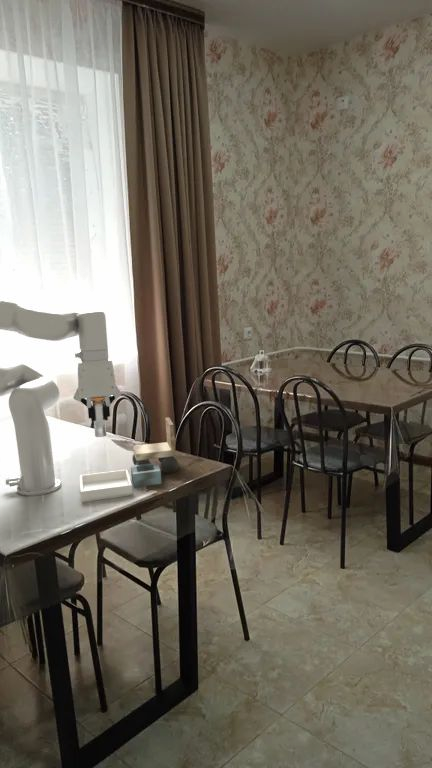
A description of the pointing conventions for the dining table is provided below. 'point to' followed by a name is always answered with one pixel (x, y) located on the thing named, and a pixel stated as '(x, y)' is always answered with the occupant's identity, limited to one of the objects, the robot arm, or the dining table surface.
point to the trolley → (165, 452)
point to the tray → (105, 485)
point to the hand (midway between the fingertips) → (99, 419)
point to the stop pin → (99, 416)
